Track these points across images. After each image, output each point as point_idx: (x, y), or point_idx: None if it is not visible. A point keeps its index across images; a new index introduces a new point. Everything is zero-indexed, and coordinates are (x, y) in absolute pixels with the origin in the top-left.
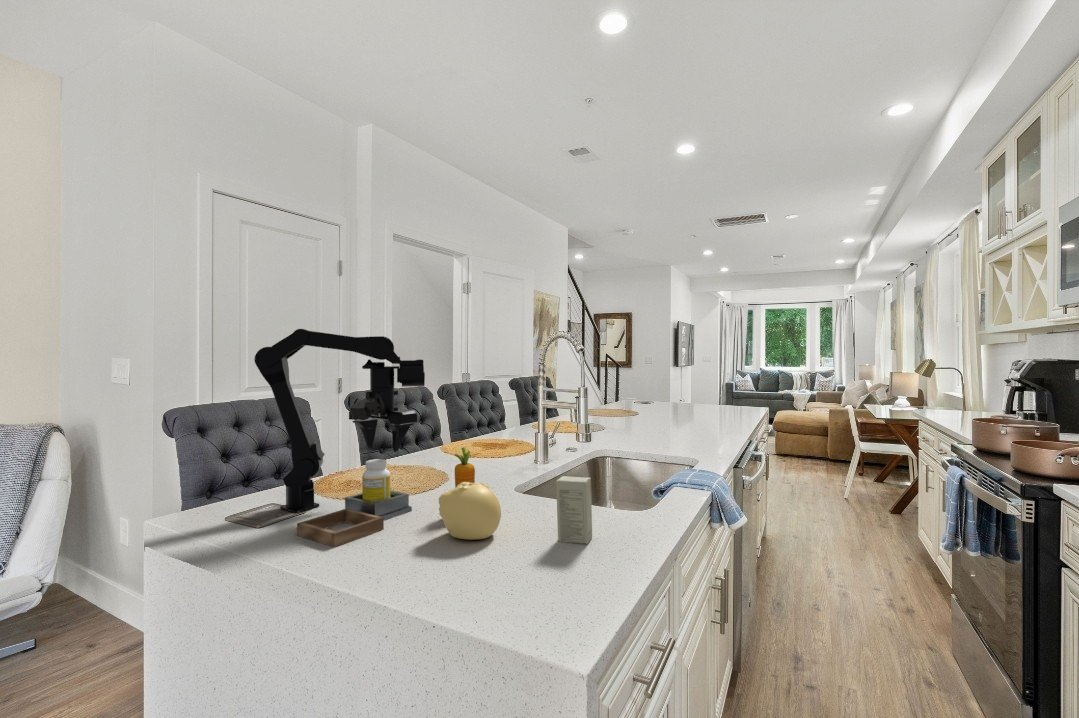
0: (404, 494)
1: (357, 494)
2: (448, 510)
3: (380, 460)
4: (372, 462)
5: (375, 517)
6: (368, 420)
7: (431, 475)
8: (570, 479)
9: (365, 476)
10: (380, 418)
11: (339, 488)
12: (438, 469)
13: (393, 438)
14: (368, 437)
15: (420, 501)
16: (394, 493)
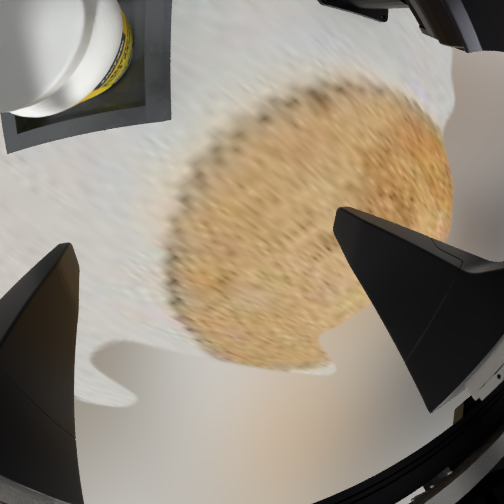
0: (10, 138)
1: (160, 8)
2: None
3: (8, 74)
4: (7, 5)
5: None
6: (482, 359)
7: (274, 349)
8: None
9: None
10: (340, 493)
11: (395, 164)
12: (293, 370)
13: (10, 307)
14: (387, 249)
15: (88, 217)
16: (56, 122)
